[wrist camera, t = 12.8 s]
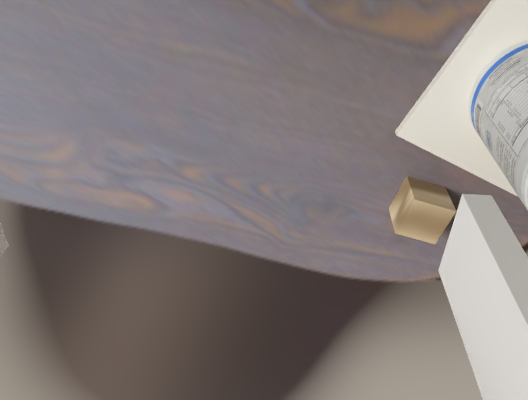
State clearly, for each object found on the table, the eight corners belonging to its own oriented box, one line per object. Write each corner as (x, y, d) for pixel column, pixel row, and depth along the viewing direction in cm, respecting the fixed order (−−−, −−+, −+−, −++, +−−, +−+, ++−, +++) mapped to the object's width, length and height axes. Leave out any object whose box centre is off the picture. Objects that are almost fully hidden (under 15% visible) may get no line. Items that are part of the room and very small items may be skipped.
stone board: (526, -48, 34) (530, -47, 34) (667, 42, 37) (673, 45, 37) (394, 131, 43) (396, 135, 42) (518, 193, 46) (521, 198, 45)
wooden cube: (406, 175, 46) (414, 199, 42) (446, 187, 46) (457, 211, 43) (388, 208, 48) (395, 233, 44) (427, 219, 48) (436, 244, 45)
